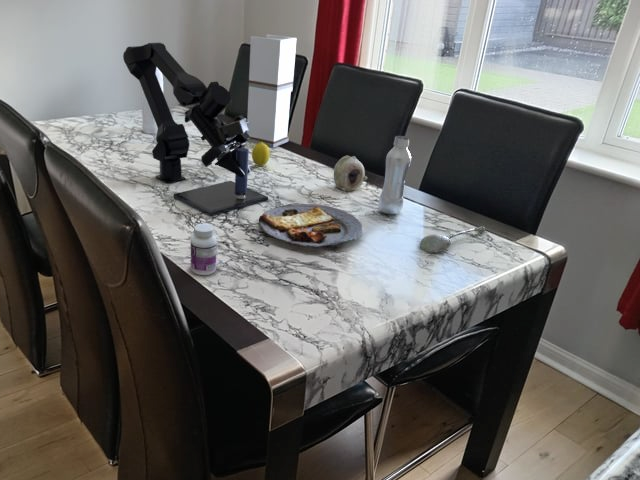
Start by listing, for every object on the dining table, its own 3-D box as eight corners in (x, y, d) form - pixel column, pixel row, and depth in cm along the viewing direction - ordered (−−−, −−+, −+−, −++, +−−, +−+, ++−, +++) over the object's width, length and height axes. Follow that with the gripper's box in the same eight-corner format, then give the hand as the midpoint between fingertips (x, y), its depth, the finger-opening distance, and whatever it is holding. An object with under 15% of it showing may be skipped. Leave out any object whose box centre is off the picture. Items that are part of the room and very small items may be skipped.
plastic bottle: (402, 210, 156) (416, 136, 146) (399, 218, 150) (414, 142, 141) (378, 206, 158) (391, 133, 148) (375, 214, 152) (387, 139, 142)
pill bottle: (190, 263, 122) (190, 221, 117) (216, 264, 122) (216, 222, 118) (190, 276, 117) (190, 232, 112) (216, 276, 118) (217, 232, 113)
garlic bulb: (332, 194, 171) (323, 162, 167) (348, 184, 175) (341, 152, 172) (357, 194, 164) (349, 160, 160) (374, 183, 168) (367, 150, 165)
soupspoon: (412, 247, 137) (434, 259, 132) (415, 235, 135) (437, 247, 130) (471, 227, 148) (493, 237, 143) (474, 215, 146) (497, 225, 141)
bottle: (162, 134, 209) (160, 46, 195) (140, 133, 209) (137, 44, 195) (165, 129, 216) (163, 43, 202) (144, 128, 216) (141, 42, 202)
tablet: (173, 197, 155) (173, 193, 155) (230, 183, 167) (230, 180, 167) (210, 216, 145) (210, 212, 145) (268, 200, 157) (268, 196, 157)
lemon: (267, 170, 180) (268, 145, 176) (249, 168, 180) (250, 143, 177) (270, 165, 184) (271, 140, 180) (253, 163, 185) (254, 138, 181)
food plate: (288, 259, 126) (290, 245, 124) (241, 220, 144) (242, 207, 142) (379, 242, 137) (381, 228, 135) (325, 207, 154) (326, 195, 153)
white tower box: (288, 141, 211) (296, 37, 193) (273, 147, 203) (280, 40, 186) (261, 135, 216) (267, 34, 199) (246, 141, 208) (250, 36, 191)
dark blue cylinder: (232, 196, 154) (233, 148, 148) (241, 194, 156) (243, 147, 150) (239, 200, 152) (241, 151, 146) (249, 198, 154) (251, 150, 148)
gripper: (213, 113, 137) (253, 166, 138) (245, 100, 152) (281, 148, 154) (184, 141, 143) (223, 191, 145) (217, 125, 158) (252, 171, 160)
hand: (246, 174), depth 151 cm, fingers closed on dark blue cylinder, 3 cm apart
